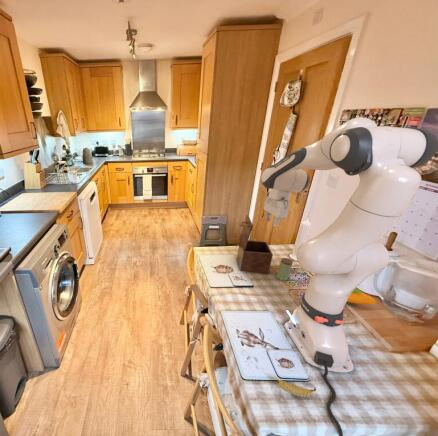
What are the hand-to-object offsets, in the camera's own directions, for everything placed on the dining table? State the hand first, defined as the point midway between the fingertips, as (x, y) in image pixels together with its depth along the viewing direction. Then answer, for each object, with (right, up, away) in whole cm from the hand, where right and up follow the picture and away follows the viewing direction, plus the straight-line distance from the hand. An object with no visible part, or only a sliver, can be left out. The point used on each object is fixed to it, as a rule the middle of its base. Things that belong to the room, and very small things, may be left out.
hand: (270, 223), depth 114 cm
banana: (-18, -49, -46) cm, 70 cm away
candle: (+24, -20, +16) cm, 35 cm away
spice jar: (+7, -27, +1) cm, 28 cm away
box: (-4, -23, +11) cm, 26 cm away
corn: (+24, -34, -14) cm, 44 cm away
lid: (-10, -5, +4) cm, 12 cm away
